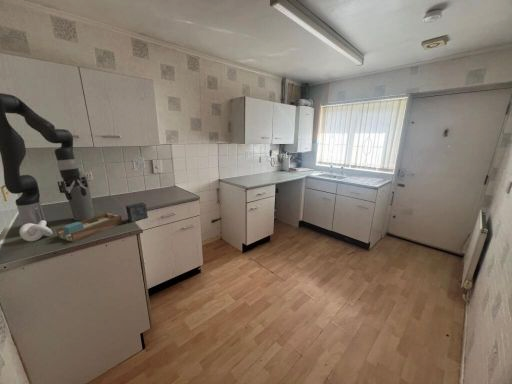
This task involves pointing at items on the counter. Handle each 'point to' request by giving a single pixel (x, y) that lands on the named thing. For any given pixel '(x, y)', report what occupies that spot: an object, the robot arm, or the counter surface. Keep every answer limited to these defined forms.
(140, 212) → the small box
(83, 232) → the track
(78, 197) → the canister
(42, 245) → the counter surface
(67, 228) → the block
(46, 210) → the counter surface
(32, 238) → the white knot sculpture
